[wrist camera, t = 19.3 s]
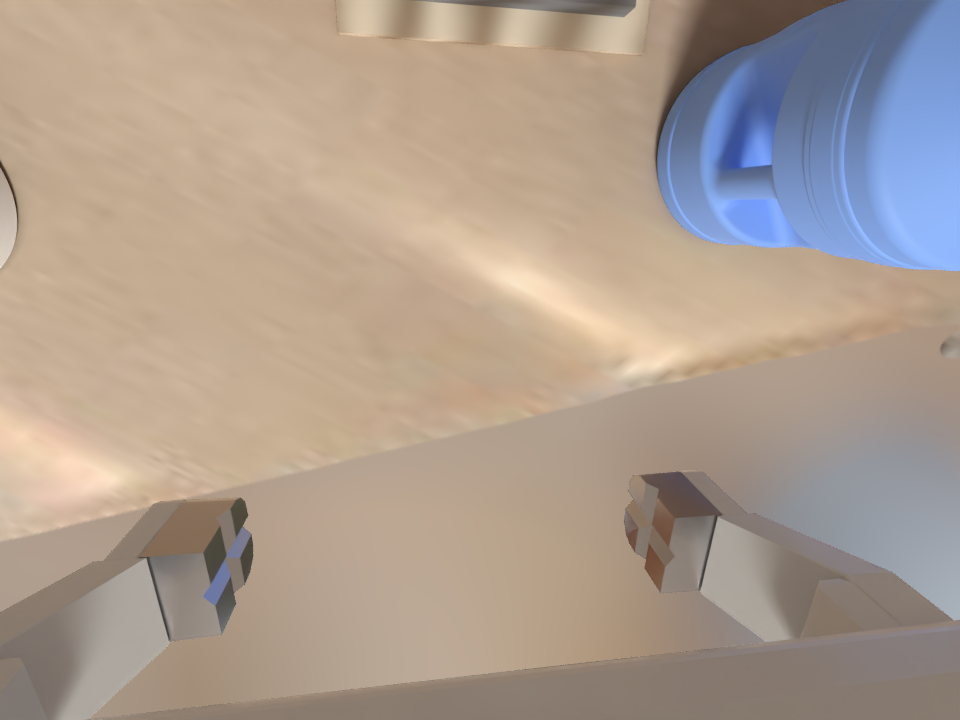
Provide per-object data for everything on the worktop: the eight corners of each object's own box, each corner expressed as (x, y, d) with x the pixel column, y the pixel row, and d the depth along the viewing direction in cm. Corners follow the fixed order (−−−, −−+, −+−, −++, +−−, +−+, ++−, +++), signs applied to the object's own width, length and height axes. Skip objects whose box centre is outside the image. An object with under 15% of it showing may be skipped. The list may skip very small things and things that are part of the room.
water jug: (794, 14, 38) (1658, -413, 11) (830, 193, 43) (1469, 179, 17) (627, 108, 38) (1082, -96, 12) (683, 272, 44) (1079, 376, 18)
